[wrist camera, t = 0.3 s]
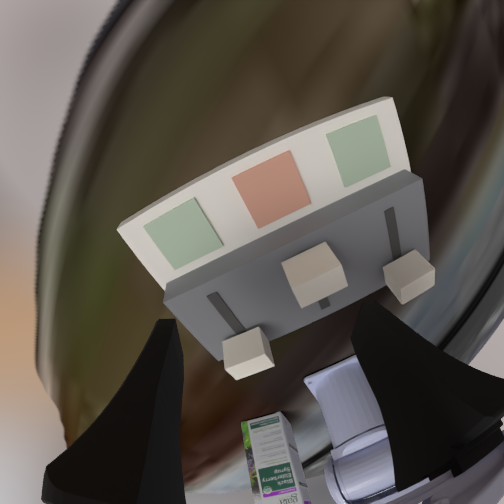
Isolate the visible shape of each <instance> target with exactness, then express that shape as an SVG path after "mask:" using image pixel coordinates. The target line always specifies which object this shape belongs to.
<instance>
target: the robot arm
mask: <svg viewBox="0 0 504 504" xmlns="http://www.w3.org/2000/svg"><path fill="white" fill-rule="evenodd" d="M351 341H352V344H353V348H354V351H355V354H356V355H354V356H352V357H350V358H348V359H346V360H343V361H341V362H339V363H337V364H335V365H333V366H330V367H328V368H326V369H324V370H321V371H319V372H317V373H314V374H312V375H310V376H307V377H305V378H304V383H305V384H306V385H307V387H308V388H309V389H310V391H311V392H312V394H313V395H314V396H315V398H316V399H317V401H318V402H319V404H320V407H321V410H322V413H323V416H324V419H325V422H326V425H327V428H328V432H329V435H330V438H331V441H332V444H333V447H334V450H331V454H332V458H329V459H328V460H327V463H326V465H325V468H324V472H325V478H326V483H327V486H328V488H329V491H330V493H331V496H332V497H333V499H334V500H335V502H336V503H337V504H418V503H420V502H422V501H423V502H422V504H497V503H498V502H499V501H500V499H501V498H502V497H503V496H504V430H503V431H501V429H500V427H501V426H502V425H503V422H502V421H501V418H502V417H503V416H504V379H503V378H499V377H496V376H493V375H490V374H488V373H485V372H482V371H480V370H478V369H475V368H473V367H471V366H469V365H467V364H465V363H463V362H461V361H459V360H457V359H455V358H454V357H452V356H450V355H449V354H447V353H445V352H444V351H442V350H440V349H439V348H437V347H436V346H434V345H433V344H432V343H430V342H429V341H427V340H426V339H424V338H423V337H422V336H420V335H419V334H418V333H416V332H415V331H414V330H413V329H411V328H410V327H409V326H407V325H406V324H405V323H404V322H402V321H401V320H400V319H398V318H397V317H396V316H395V315H393V314H392V313H391V312H390V311H388V310H387V309H386V308H384V307H383V306H382V305H380V304H379V303H377V302H376V301H372V302H365V303H362V306H361V309H360V312H359V315H358V318H357V321H356V324H355V327H354V330H353V332H352V335H351ZM183 382H184V365H183V351H182V347H181V342H180V338H179V334H178V329H177V324H176V319H159V320H158V321H157V322H156V324H155V326H154V328H153V330H152V333H151V335H150V337H149V339H148V341H147V343H146V344H145V346H144V348H143V350H142V352H141V354H140V355H139V357H138V359H137V361H136V363H135V364H134V366H133V368H132V369H131V371H130V373H129V374H128V376H127V377H126V379H125V381H124V382H123V384H122V385H121V387H120V388H119V390H118V391H117V393H116V394H115V396H114V397H113V398H112V400H111V401H110V402H109V404H108V405H107V406H106V408H105V409H104V410H103V411H102V413H101V414H100V415H99V416H98V417H97V419H96V420H95V421H94V422H93V423H92V424H91V426H90V427H89V428H88V429H87V430H86V431H85V432H84V433H83V434H82V435H81V436H80V437H79V438H78V439H77V440H76V441H75V442H74V443H73V444H72V445H71V446H70V447H69V448H68V449H67V450H65V451H64V452H63V453H62V454H61V455H59V456H58V457H57V458H56V459H55V460H53V461H52V462H51V463H50V464H48V465H47V466H46V470H45V473H44V479H43V487H42V498H41V500H42V501H43V502H44V503H46V504H186V500H185V492H184V484H183V475H182V465H181V451H180V420H181V406H182V394H183ZM393 486H395V487H394V488H392V489H389V490H387V491H385V492H382V493H380V494H377V493H379V492H381V491H384V490H386V489H388V488H390V487H393ZM374 494H377V495H375V496H373V497H370V498H367V497H369V496H372V495H374ZM364 498H366V499H364Z"/></svg>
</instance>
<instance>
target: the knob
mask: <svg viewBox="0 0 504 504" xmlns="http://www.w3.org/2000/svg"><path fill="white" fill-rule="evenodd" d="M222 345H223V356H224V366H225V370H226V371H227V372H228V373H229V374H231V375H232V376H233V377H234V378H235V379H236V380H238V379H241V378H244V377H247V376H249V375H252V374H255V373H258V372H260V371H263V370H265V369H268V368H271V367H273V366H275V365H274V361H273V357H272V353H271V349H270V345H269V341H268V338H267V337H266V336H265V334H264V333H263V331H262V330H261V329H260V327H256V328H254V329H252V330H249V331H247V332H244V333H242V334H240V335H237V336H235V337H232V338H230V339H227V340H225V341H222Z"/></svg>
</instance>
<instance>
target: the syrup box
mask: <svg viewBox="0 0 504 504" xmlns="http://www.w3.org/2000/svg"><path fill="white" fill-rule="evenodd" d="M241 427H242V433H243V440H244V446H245V451H246V457H247V464H248V470H249V475H250V481H251V487H252V492H253V497H254V503H255V504H312V502H311V498H310V495H309V491H308V488H307V484H306V480H305V476H304V473H303V469H302V465H301V461H300V458H299V454H298V450H297V446H296V442H295V439H294V435H293V431H292V427H291V424H290V423H289V422H288V420H287V419H286V418H285V416H284V415H283V414H282V413H281V412H280V411H279V412H276V413H274V414H271V415H267V416H264V417H260V418H256V419H252V420H248V421H243V422H242V423H241Z"/></svg>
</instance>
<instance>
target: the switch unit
mask: <svg viewBox="0 0 504 504" xmlns="http://www.w3.org/2000/svg"><path fill="white" fill-rule="evenodd" d="M117 231H118V232H119V233H120V235H121V236H122V238H123V239H124V240H125V242H126V243H127V244H128V246H129V247H130V248H131V249H132V251H133V252H134V253H135V255H136V256H137V257H138V259H139V260H140V261H141V262H142V264H143V265H144V266H145V267H146V269H147V270H148V271H149V272H150V274H151V275H152V276H153V277H154V279H155V280H156V281H157V282H158V283H159V285H160V286H161V287H162V288H163V290H164V291H165V295H164V301H163V303H164V304H165V305H166V306H167V307H168V308H169V309H170V311H171V312H172V313H173V314H174V315H175V316H176V317H177V318H178V319H179V321H180V322H181V323H182V324H183V325H184V326H185V327H186V328H187V329H188V330H189V331H190V332H191V333H192V334H193V336H194V337H195V338H196V339H197V340H198V341H199V342H200V343H201V344H202V345H203V346H204V347H205V348H206V349H207V350H208V351H209V352H210V353H211V354H212V355H213V356H214V357H215V358H216V359H217V360H218V361H220V360H223V359H224V356H223V345H222V341H225V340H227V339H230V338H232V337H235V336H237V335H240V334H242V333H244V332H247V331H249V330H252V329H254V328H256V327H260V329H261V330H262V331H263V333H264V334H265V336H266V337H267V338H268V341H271V340H273V339H276V338H278V337H280V336H283V335H285V334H287V333H290V332H292V331H294V330H296V329H299V328H301V327H303V326H305V325H308V324H310V323H312V322H314V321H316V320H318V319H320V318H323V317H325V316H327V315H329V314H331V313H333V312H335V311H337V310H339V309H341V308H343V307H345V306H347V305H349V304H351V303H353V302H355V301H357V300H359V299H361V298H363V297H365V296H367V295H369V294H371V293H373V292H375V291H376V290H378V289H380V288H382V287H384V286H386V285H387V284H386V283H385V277H384V271H383V267H384V266H386V265H387V264H389V263H391V262H393V261H395V260H397V259H398V258H400V257H402V256H404V255H406V254H407V253H409V252H411V251H413V250H414V249H416V250H417V251H418V252H419V253H420V254H421V255H422V256H423V257H424V258H425V259H426V260H427V261H429V260H430V252H429V234H428V222H427V212H426V203H425V195H424V187H423V181H422V178H420V177H419V176H417V175H415V174H413V173H411V170H410V165H409V160H408V155H407V151H406V146H405V142H404V138H403V134H402V130H401V126H400V122H399V119H398V115H397V111H396V108H395V105H394V101H393V98H392V97H381V98H378V99H375V100H372V101H369V102H366V103H363V104H360V105H358V106H355V107H352V108H349V109H347V110H344V111H341V112H339V113H336V114H333V115H331V116H328V117H326V118H323V119H321V120H318V121H316V122H313V123H311V124H308V125H306V126H304V127H301V128H299V129H297V130H294V131H292V132H290V133H287V134H285V135H283V136H281V137H278V138H276V139H274V140H272V141H269V142H267V143H265V144H263V145H261V146H259V147H257V148H254V149H252V150H250V151H248V152H246V153H244V154H242V155H240V156H238V157H236V158H234V159H232V160H230V161H228V162H226V163H224V164H222V165H220V166H218V167H216V168H214V169H212V170H210V171H209V172H207V173H205V174H203V175H201V176H199V177H197V178H195V179H194V180H192V181H190V182H188V183H186V184H185V185H183V186H181V187H179V188H177V189H176V190H174V191H172V192H170V193H169V194H167V195H165V196H164V197H162V198H160V199H158V200H157V201H155V202H153V203H152V204H150V205H148V206H147V207H145V208H143V209H142V210H140V211H139V212H137V213H135V214H134V215H132V216H131V217H129V218H127V219H126V220H124V221H123V222H121V223H120V225H119V226H118V228H117ZM323 242H326V243H327V245H328V246H329V248H330V249H331V250H332V252H333V253H334V255H335V256H336V257H337V259H338V260H339V262H340V263H341V265H342V268H343V271H344V274H345V277H346V281H347V284H348V286H347V287H345V288H343V289H341V290H339V291H337V292H335V293H333V294H331V295H329V296H327V297H325V298H323V299H321V300H319V301H317V302H314V303H312V304H310V305H308V306H306V307H304V308H302V309H301V307H300V305H299V303H298V301H297V299H296V297H295V295H294V293H293V291H292V289H291V286H290V284H289V281H288V279H287V276H286V274H285V271H284V269H283V267H282V264H281V262H284V261H286V260H288V259H290V258H292V257H294V256H296V255H298V254H300V253H302V252H304V251H307V250H309V249H311V248H313V247H315V246H317V245H319V244H321V243H323Z"/></svg>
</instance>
